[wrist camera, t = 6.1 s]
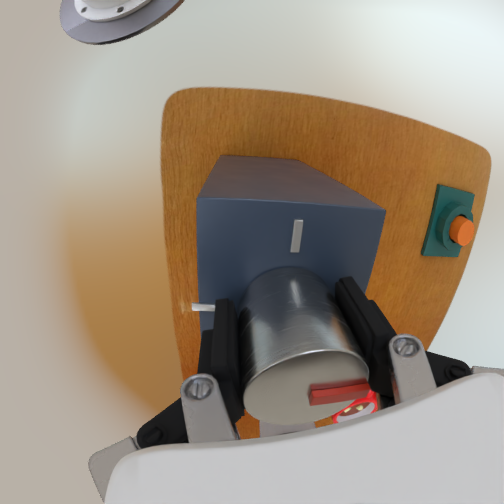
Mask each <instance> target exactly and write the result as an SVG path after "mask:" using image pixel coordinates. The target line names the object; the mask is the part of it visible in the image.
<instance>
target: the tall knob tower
mask: <svg viewBox="0 0 504 504" xmlns="http://www.w3.org/2000/svg"><path fill="white" fill-rule="evenodd" d="M385 214H386V210H385V209H383V208H382V207H380V206H378V205H377V204H375V203H374V202H372V201H370V200H369V199H367V198H365V197H364V196H362V195H360V194H359V193H357V192H355V191H354V190H352V189H350V188H348V187H347V186H345V185H343V184H342V183H340V182H338V181H336V180H334V179H333V178H331V177H329V176H327V175H325V174H323V173H322V172H320V171H318V170H316V169H314V168H312V167H310V166H308V165H306V164H304V163H303V162H301V161H299V160H292V159H281V158H268V157H252V156H230V155H220V157H219V159H218V160H217V162H216V164H215V166H214V168H213V169H212V171H211V173H210V175H209V176H208V178H207V180H206V182H205V184H204V186H203V187H202V189H201V191H200V193H199V195H198V197H197V270H198V295H199V303H194V302H192V310H194V311H199V315H200V331H201V338H202V331H203V330H209V329H213V325H214V313H215V302H216V299H223V298H228V299H229V301H231V300H233V301H234V304H235V308H236V313H237V317H238V306H239V301H240V298H241V296H242V294H243V292H244V291H245V289H246V288H247V287H248V286H249V284H250V283H251V282H253V281H254V280H255V279H256V278H258V277H259V276H261V275H263V274H264V273H266V272H269V271H271V270H275V269H278V268H284V267H297V268H303V269H306V270H309V271H312V272H314V273H316V274H317V275H319V276H320V277H321V278H322V279H323V280H324V281H325V282H326V284H327V285H328V287H329V289H330V291H331V293H332V295H333V296H334V298H335V283H336V282H339V278H343V277H348V276H352V277H353V279H354V280H355V282H356V283H357V284H358V286H359V287H360V289H361V290H362V292H363V293H364V294H365V292H366V289H367V286H368V282H369V279H370V275H371V272H372V268H373V264H374V261H375V257H376V253H377V249H378V245H379V241H380V237H381V232H382V228H383V223H384V219H385Z"/></svg>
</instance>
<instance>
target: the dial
mask: <svg viewBox="0 0 504 504" xmlns="http://www.w3.org/2000/svg"><path fill="white" fill-rule="evenodd" d="M238 321H239V348H240V373H241V396H242V403H243V406H244V407H245V409H246V411H247V412H248V413H249V414H250V415H252V416H253V417H255V418H256V419H258V420H261V421H263V422H267V423H271V424H277V425H298V424H305V423H310V422H314V421H318V420H321V419H324V418H326V417H329V416H331V415H333V414H335V413H337V412H339V411H341V410H343V409H344V408H346V407H347V406H349V405H350V404H351V403H352V402H354V401H355V400H356V399H361V398H365V397H366V396H367V394H368V393H369V391H370V386H369V384H368V381H369V377H370V369H369V366H368V363H367V361H366V359H365V357H364V355H363V353H362V351H361V349H360V347H359V345H358V343H357V341H356V339H355V337H354V335H353V333H352V331H351V329H350V327H349V325H348V323H347V321H346V319H345V317H344V315H343V314H342V312H341V310H340V308H339V306H338V304H337V302H336V300H335V298H334V296H333V295H332V293H331V291H330V289H329V287H328V285H327V284H326V282H325V281H324V280H323V279H322V278H321V277H320V276H319V275H317V274H316V273H314V272H312V271H309V270H306V269H303V268H297V267H284V268H278V269H275V270H271V271H269V272H266V273H264V274H263V275H261V276H259V277H258V278H256V279H255V280H254V281H253V282H251V283H250V284H249V286H248V287H247V288H246V289H245V291H244V292H243V294H242V296H241V298H240V301H239V306H238Z"/></svg>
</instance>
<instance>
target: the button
mask: <svg viewBox="0 0 504 504" xmlns="http://www.w3.org/2000/svg"><path fill="white" fill-rule="evenodd" d="M473 234H474V224H473V223H472V221H470V220H468V219H466V218H465V217H463V216H456V217H455V218H454V220H453V221H452V223H451V225H450V229H449V236H450V238H451V239H452V240H453V241H455V242H456V243H458V244H459V245H461V246H465V245H467V244H468V243H469V242H470V241H471V239H472V237H473Z"/></svg>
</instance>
